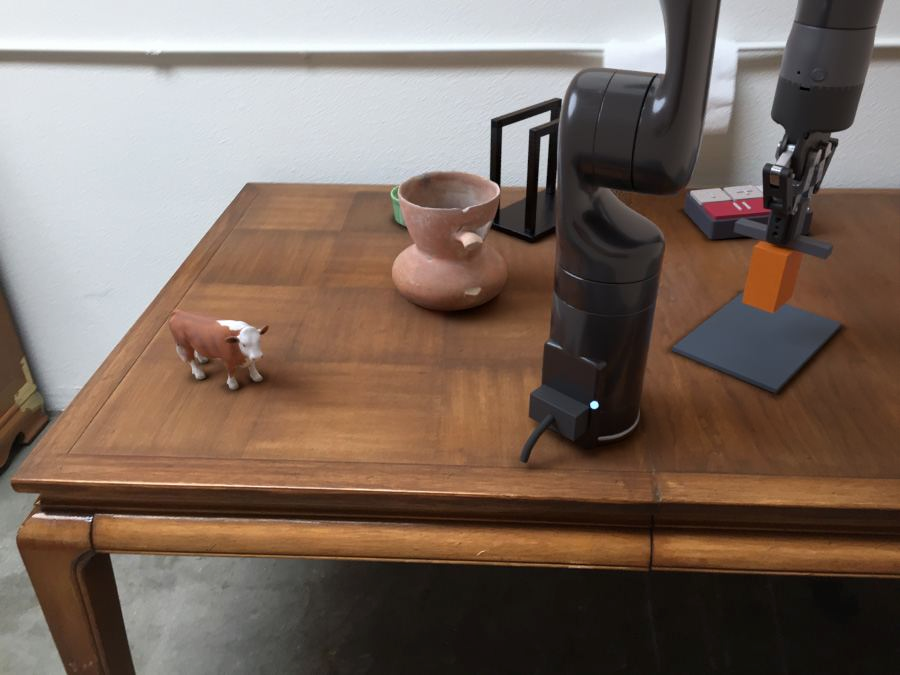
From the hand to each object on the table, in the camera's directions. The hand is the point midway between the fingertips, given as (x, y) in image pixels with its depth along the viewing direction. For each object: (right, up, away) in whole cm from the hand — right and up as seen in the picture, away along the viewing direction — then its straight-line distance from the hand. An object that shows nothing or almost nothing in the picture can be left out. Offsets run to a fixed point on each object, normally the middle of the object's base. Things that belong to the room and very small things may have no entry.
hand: (781, 239), depth 82 cm
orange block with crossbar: (0, -6, +4) cm, 7 cm away
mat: (0, -11, +7) cm, 12 cm away
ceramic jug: (-36, -5, +17) cm, 40 cm away
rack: (-21, +8, +37) cm, 43 cm away
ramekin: (-40, +8, +36) cm, 54 cm away
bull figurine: (-59, -15, +1) cm, 61 cm away
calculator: (+9, +7, +34) cm, 36 cm away
